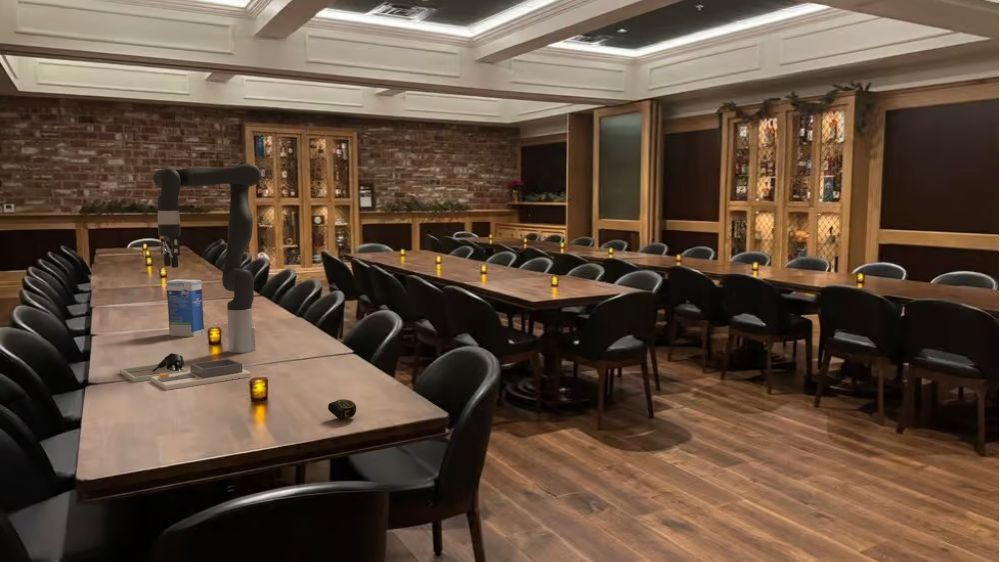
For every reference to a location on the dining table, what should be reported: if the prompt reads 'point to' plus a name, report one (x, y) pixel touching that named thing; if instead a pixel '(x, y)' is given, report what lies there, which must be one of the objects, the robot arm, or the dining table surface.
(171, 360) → the power plug
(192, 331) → the string lights box
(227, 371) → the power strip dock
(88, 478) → the dining table surface
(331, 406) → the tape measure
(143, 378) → the pick tray
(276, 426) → the dining table surface
